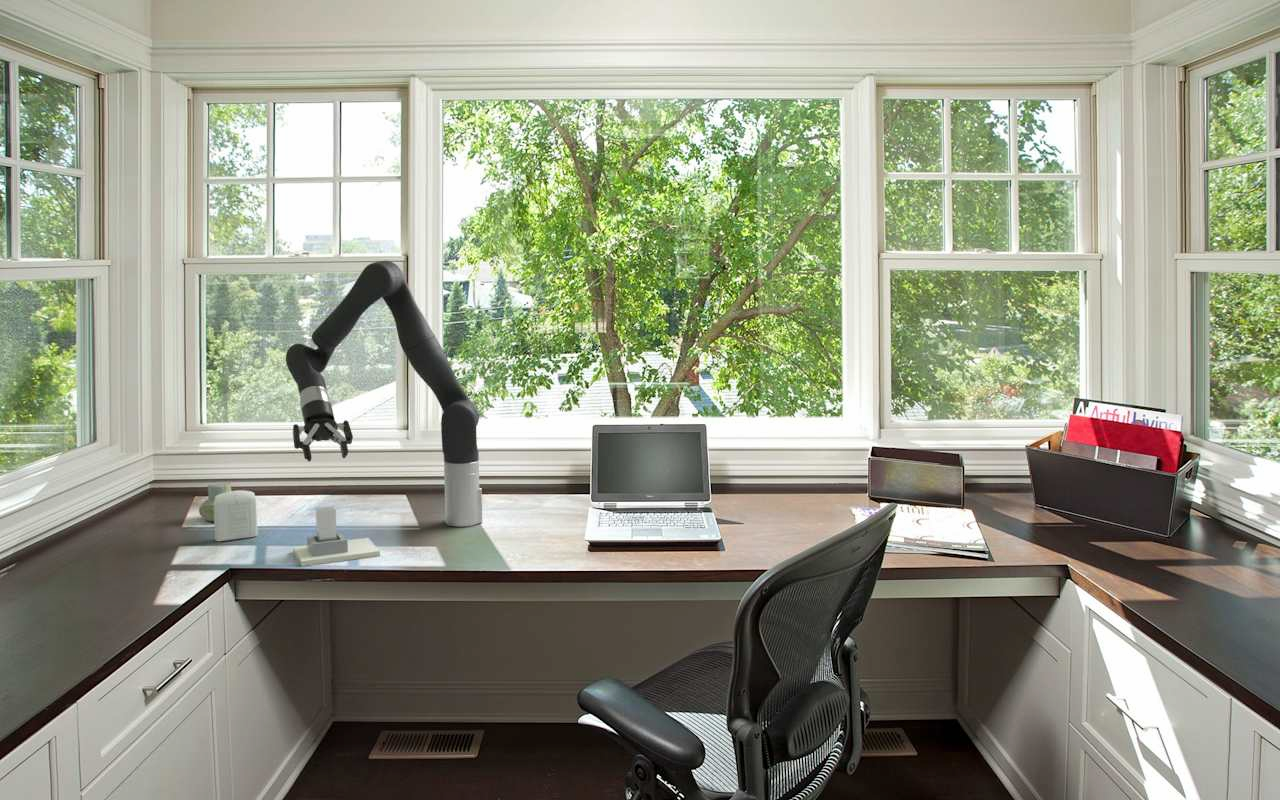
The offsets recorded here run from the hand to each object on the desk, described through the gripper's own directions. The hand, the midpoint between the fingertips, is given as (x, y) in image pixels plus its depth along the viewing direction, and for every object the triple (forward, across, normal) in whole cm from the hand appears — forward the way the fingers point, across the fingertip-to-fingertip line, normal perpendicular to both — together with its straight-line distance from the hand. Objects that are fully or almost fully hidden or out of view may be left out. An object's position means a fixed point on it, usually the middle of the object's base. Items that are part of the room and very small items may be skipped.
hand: (327, 457), depth 244 cm
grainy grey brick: (+24, -4, +4) cm, 24 cm away
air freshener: (-10, -23, +40) cm, 47 cm away
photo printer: (+6, -21, +24) cm, 32 cm away
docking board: (+25, -2, +5) cm, 25 cm away
